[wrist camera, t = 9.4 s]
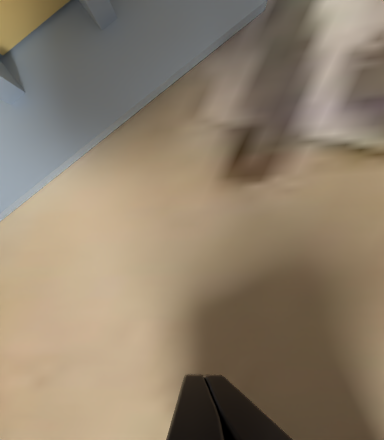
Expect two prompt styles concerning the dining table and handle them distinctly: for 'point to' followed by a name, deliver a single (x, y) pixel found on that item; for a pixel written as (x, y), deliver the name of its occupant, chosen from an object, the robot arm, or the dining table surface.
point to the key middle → (23, 19)
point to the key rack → (97, 77)
